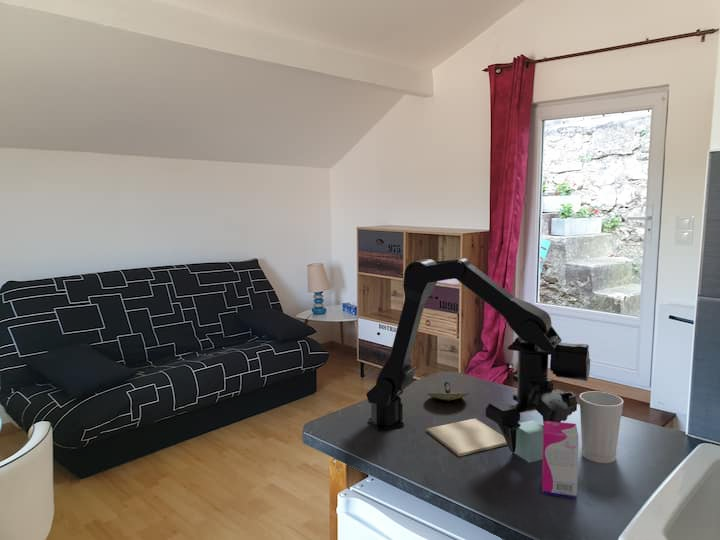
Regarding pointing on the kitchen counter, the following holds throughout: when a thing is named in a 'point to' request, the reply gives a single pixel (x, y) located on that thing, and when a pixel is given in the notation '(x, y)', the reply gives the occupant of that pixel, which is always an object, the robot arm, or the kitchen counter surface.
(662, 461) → the kitchen counter surface
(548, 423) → the supplement box
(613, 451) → the cup
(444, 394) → the lid
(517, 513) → the kitchen counter surface
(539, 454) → the teal block
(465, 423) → the pad
